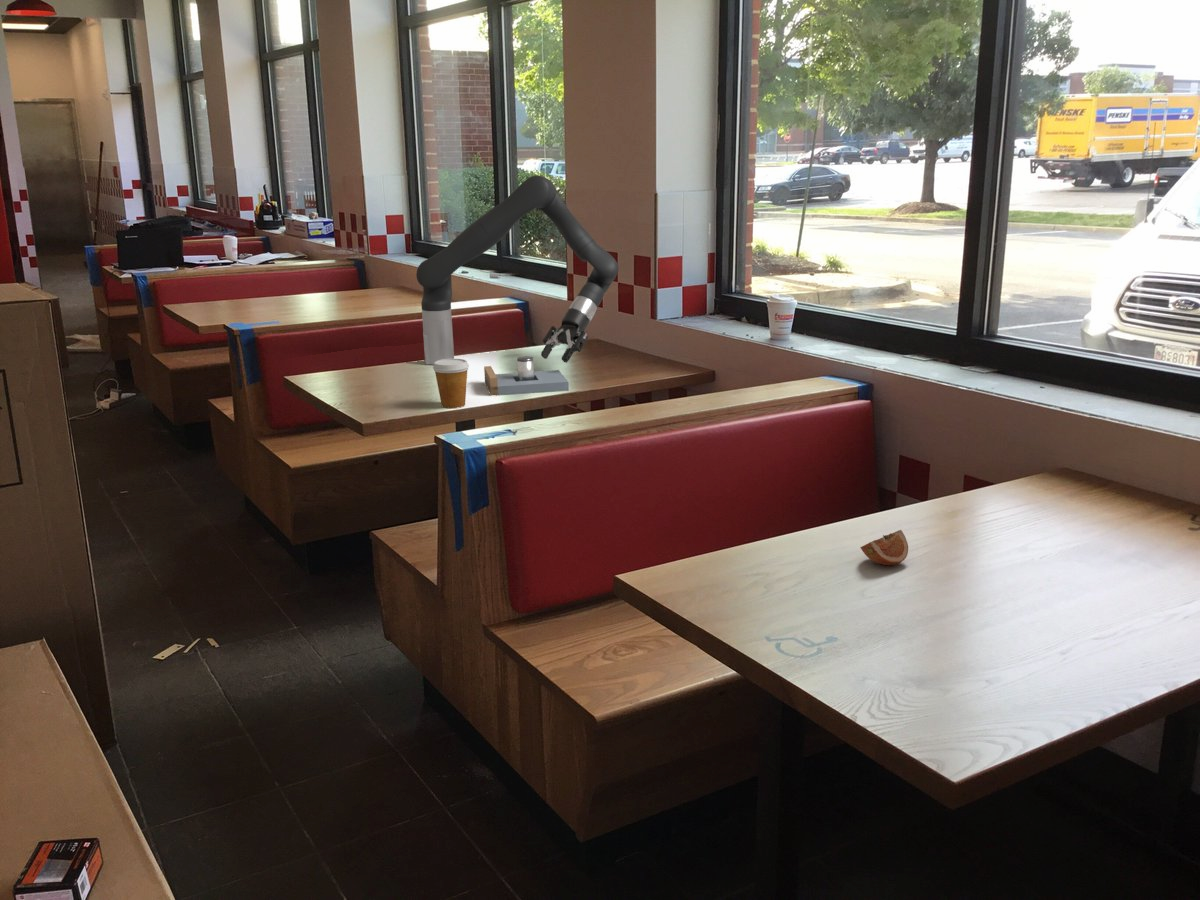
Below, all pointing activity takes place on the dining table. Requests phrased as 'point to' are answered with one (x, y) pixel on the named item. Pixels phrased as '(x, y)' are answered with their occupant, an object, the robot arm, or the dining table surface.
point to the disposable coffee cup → (451, 381)
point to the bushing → (525, 368)
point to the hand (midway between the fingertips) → (553, 359)
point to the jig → (524, 382)
